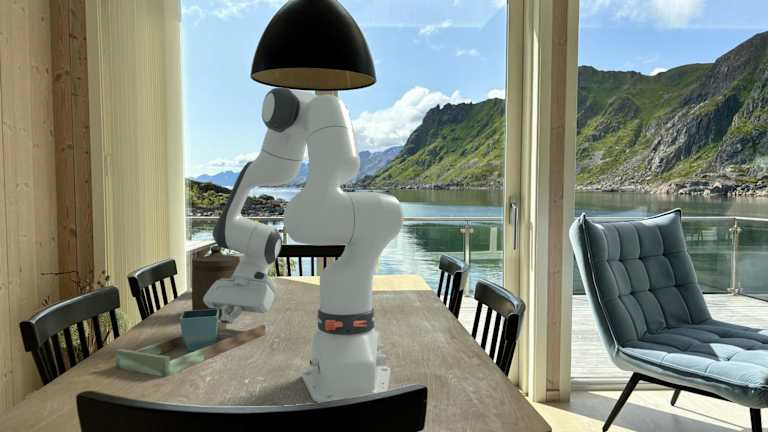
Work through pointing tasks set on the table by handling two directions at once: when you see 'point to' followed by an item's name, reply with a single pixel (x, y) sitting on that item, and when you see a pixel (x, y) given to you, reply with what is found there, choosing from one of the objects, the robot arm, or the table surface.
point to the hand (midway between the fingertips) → (225, 322)
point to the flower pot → (199, 328)
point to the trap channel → (162, 366)
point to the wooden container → (210, 275)
